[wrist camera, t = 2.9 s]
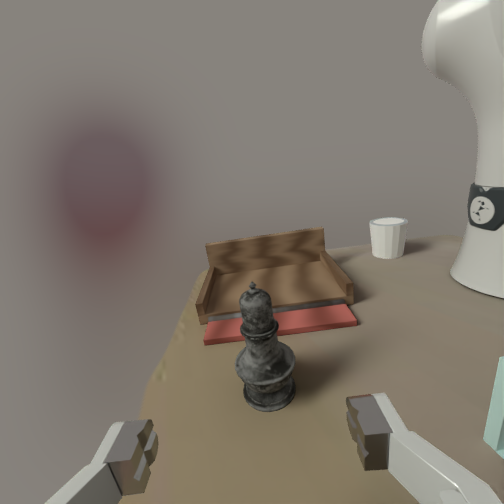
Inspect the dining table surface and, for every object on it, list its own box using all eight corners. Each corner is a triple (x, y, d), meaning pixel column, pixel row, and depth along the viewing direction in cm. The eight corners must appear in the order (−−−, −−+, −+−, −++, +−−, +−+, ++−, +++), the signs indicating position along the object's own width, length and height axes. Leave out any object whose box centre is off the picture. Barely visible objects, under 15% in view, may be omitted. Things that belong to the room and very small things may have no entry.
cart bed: (323, 264, 53) (321, 226, 50) (368, 324, 33) (368, 267, 31) (214, 279, 54) (206, 243, 51) (193, 346, 34) (179, 293, 31)
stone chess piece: (250, 363, 30) (232, 268, 26) (301, 369, 28) (290, 267, 24) (232, 409, 24) (206, 298, 21) (294, 419, 22) (278, 299, 19)
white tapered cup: (400, 247, 56) (402, 215, 53) (411, 258, 49) (413, 223, 47) (366, 249, 57) (366, 218, 55) (372, 260, 51) (373, 226, 49)
